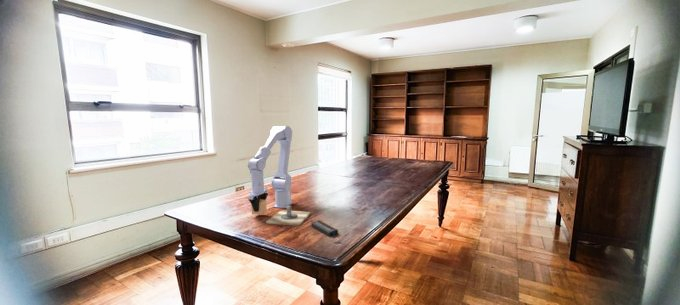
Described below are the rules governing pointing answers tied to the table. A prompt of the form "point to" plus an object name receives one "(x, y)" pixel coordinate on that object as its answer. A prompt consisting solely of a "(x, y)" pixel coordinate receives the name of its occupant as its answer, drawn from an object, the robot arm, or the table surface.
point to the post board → (288, 217)
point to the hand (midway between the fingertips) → (259, 209)
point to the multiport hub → (324, 228)
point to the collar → (260, 207)
